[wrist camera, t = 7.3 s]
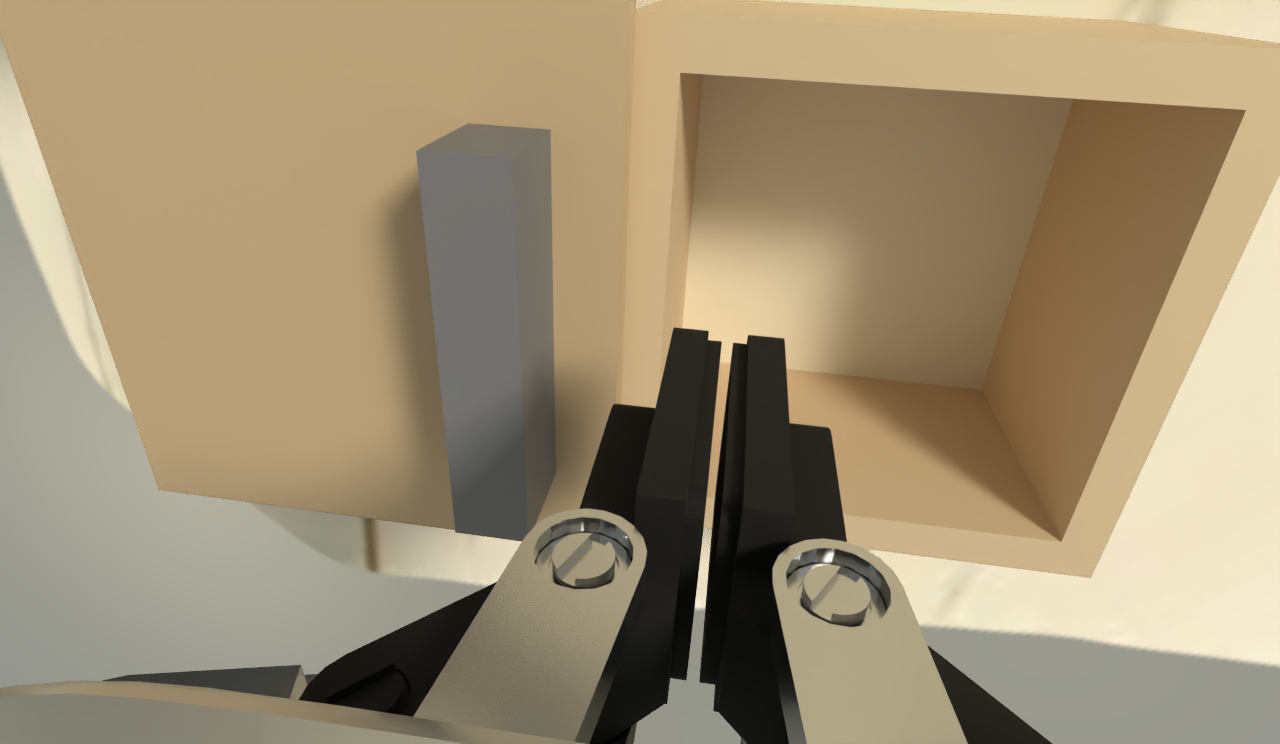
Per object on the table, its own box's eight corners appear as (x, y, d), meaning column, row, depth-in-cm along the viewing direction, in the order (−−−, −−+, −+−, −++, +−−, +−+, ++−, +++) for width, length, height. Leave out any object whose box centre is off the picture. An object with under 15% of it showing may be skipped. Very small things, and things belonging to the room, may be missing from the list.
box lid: (14, -35, 14) (-165, -36, 12) (636, 0, 13) (601, 8, 10) (179, 472, 20) (88, 551, 18) (616, 530, 19) (592, 625, 16)
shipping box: (674, -4, 20) (630, 11, 14) (1129, 21, 19) (1337, 51, 12) (651, 371, 26) (613, 515, 19) (999, 409, 25) (1091, 578, 18)
